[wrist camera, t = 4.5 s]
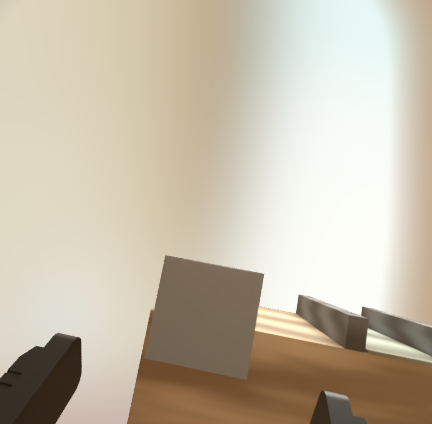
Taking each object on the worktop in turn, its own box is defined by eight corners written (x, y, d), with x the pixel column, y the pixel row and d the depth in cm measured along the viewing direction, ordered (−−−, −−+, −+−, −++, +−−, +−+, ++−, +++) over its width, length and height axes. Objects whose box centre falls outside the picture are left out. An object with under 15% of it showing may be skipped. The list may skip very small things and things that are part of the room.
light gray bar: (246, 379, 11) (263, 274, 12) (144, 357, 12) (165, 255, 12) (236, 301, 37) (242, 269, 37) (204, 295, 37) (210, 263, 38)
